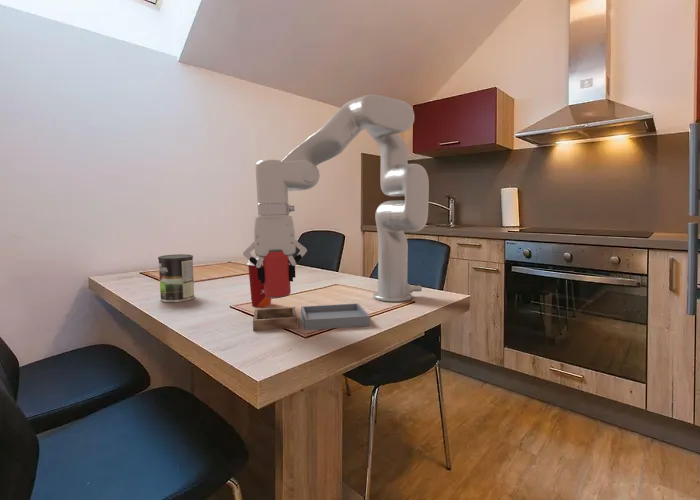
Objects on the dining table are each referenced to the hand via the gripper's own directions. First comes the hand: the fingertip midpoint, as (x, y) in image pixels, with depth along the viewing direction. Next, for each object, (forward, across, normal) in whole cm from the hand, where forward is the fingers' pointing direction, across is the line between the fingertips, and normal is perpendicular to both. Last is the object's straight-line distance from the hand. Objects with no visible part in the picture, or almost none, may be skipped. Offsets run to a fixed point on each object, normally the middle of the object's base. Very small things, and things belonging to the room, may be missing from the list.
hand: (277, 280), depth 95 cm
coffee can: (+11, +32, -34) cm, 48 cm away
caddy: (+11, +1, 0) cm, 11 cm away
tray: (+11, -14, +2) cm, 18 cm away
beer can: (+4, 0, 0) cm, 4 cm away
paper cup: (+11, +5, -20) cm, 23 cm away
